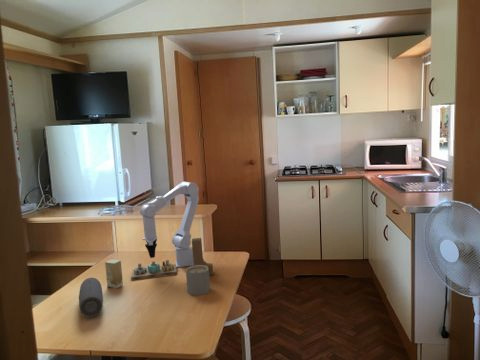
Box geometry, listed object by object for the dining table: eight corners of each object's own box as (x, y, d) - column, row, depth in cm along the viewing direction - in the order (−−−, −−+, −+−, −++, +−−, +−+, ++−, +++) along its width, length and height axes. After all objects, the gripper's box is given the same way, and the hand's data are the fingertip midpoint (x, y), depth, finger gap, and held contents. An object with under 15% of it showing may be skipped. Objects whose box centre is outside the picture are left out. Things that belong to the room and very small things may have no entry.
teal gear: (159, 267, 206) (159, 262, 205) (159, 271, 200) (159, 265, 200) (148, 269, 205) (147, 263, 204) (148, 273, 199) (147, 267, 199)
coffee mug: (209, 294, 172) (207, 272, 171) (186, 296, 172) (184, 273, 171) (211, 282, 186) (209, 261, 184) (189, 284, 186) (187, 263, 184)
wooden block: (213, 272, 199) (210, 236, 196) (213, 275, 194) (210, 239, 192) (195, 273, 198) (191, 238, 196) (194, 277, 194) (191, 241, 191)
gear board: (176, 266, 210) (175, 255, 209) (176, 274, 199) (175, 262, 198) (132, 272, 206) (131, 261, 205) (131, 280, 195) (130, 268, 194)
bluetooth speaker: (80, 300, 176) (78, 278, 174) (103, 295, 179) (100, 274, 178) (79, 322, 155) (76, 298, 153) (105, 317, 158) (102, 293, 156)
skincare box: (107, 286, 189) (104, 261, 187) (113, 283, 193) (111, 258, 191) (117, 288, 186) (114, 263, 184) (123, 285, 190) (121, 260, 188)
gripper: (142, 226, 206) (144, 251, 208) (141, 233, 192) (143, 260, 194) (156, 224, 208) (158, 250, 209) (156, 231, 193) (158, 258, 195)
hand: (152, 255), depth 202 cm, fingers open, 7 cm apart
